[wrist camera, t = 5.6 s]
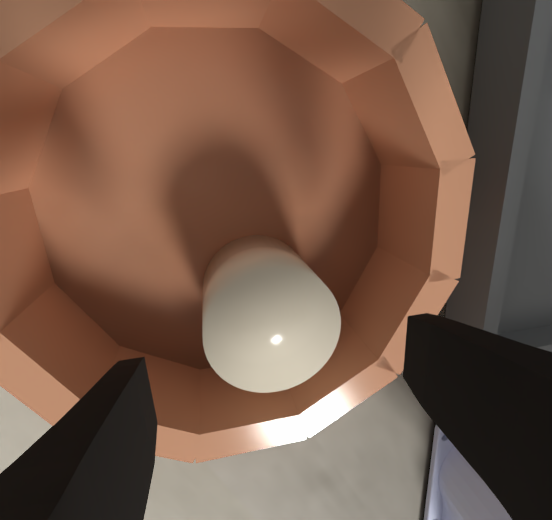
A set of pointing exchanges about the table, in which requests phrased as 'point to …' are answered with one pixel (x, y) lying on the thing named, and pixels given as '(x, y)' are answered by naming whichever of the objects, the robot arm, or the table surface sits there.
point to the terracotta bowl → (219, 196)
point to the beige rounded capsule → (266, 316)
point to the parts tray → (510, 178)
